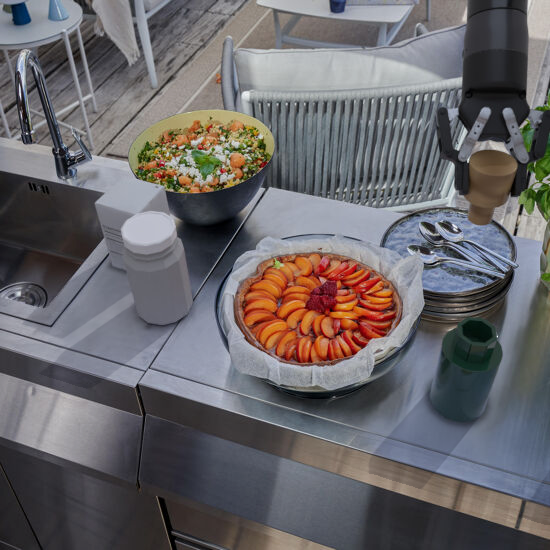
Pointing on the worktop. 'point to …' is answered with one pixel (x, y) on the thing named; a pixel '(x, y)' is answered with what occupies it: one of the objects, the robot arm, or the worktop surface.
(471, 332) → the flask
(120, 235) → the rectangular carton
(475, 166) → the stopper
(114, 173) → the worktop surface
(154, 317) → the jar
